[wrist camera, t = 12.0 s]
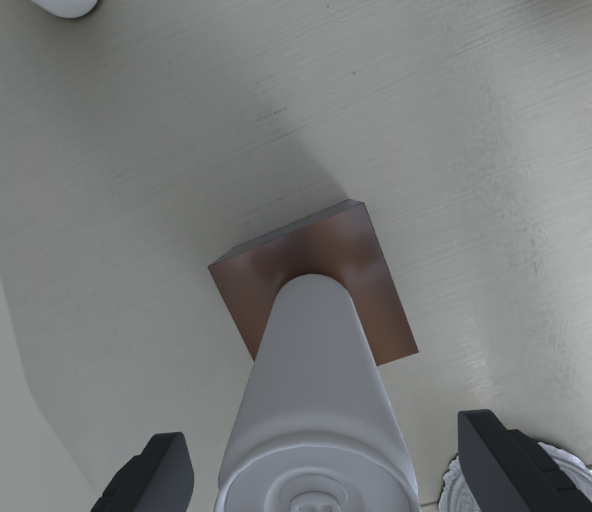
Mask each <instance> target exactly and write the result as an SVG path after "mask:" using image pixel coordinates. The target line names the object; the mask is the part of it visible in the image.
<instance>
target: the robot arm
mask: <svg viewBox="0 0 592 512" xmlns="http://www.w3.org/2000/svg"><path fill="white" fill-rule="evenodd" d="M458 457H459V463H460V467H461V470H462V473H463V476H464V479H465V481H466V483H467V485H468V487H469V489H470V491H471V493H472V495H473V497H474V498H475V500H476V502H477V504H478V506H479V508H480V510H481V512H592V502H591V501H590V500H589V499H588V498H587V496H586V495H585V494H584V493H583V492H582V491H581V490H578V489H577V487H576V484H575V483H574V482H573V481H572V480H571V479H570V477H569V476H568V475H567V474H566V473H565V472H564V471H561V469H560V466H559V465H558V464H557V463H556V462H555V461H554V460H553V459H552V457H551V456H550V455H549V454H548V453H547V452H546V451H545V450H544V449H543V447H542V446H541V445H539V444H538V443H536V442H535V441H534V440H532V439H531V438H529V437H528V436H526V435H525V434H523V433H522V432H521V431H519V430H518V429H514V430H507V429H506V428H505V427H504V425H503V424H502V423H501V422H500V421H499V419H498V418H497V417H496V416H495V414H494V413H493V412H492V411H491V410H489V409H482V410H469V411H459V413H458ZM193 487H194V472H193V468H192V464H191V460H190V456H189V452H188V448H187V445H186V441H185V437H184V435H183V433H182V432H173V433H160V434H155V435H153V436H152V438H151V439H150V440H149V442H148V444H147V445H146V447H145V448H144V450H143V451H142V453H141V454H140V455H138V456H134V457H133V458H132V459H131V460H130V461H129V462H127V463H126V464H125V465H124V466H123V467H122V468H121V469H120V470H119V471H118V472H117V473H116V474H115V476H114V477H113V479H112V480H111V482H110V483H109V485H108V486H107V487H106V489H105V490H104V492H103V495H102V497H100V498H99V499H98V501H97V502H96V504H95V505H94V506H93V508H92V509H91V512H186V510H187V507H188V505H189V502H190V500H191V496H192V493H193Z"/></svg>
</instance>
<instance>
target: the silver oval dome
mask: <svg viewBox="0 0 592 512" xmlns="http://www.w3.org/2000/svg"><path fill="white" fill-rule="evenodd" d="M538 444H539V445H541V446H542V447H543V449H544V450H545V451H546V452H547V453H548V454H549V455H550V456H551V457H552V459H553V460H554V461H555V462H556V463H557V464H558V465H559V466H560V469H561V471H564V472H565V473H566V474H567V475H568V476H569V477H570V479H571V480H572V481H573V482H574V483H575V484H576V487H577V489H578V490H581V491H582V492H583V493H584V494H585V495H586V496H587V498H588V499H589V500H590V501H591V502H592V471H591V470H590V469H587V468H586V467H585V464H584V463H583V462H582V461H580V459H579V458H578V457H576V456H574V455H572V454H570V453H568V452H566V451H564V450H563V449H558V448H555V447H554V446H551V445H546V444H544V443H543V442H539V443H538ZM456 458H457V459H456V460H452V462H451V464H450V465H449V470H450V471H449V472H447V473H446V474H445V475H444V476H443V479H444V481H445V485H446V486H445V487H444V488H443V489H444V491H443V492H442V495H441V497H440V501H439V504H438V506H439V512H481V510H480V508H479V506H478V504H477V502H476V500H475V498H474V497H473V495H472V493H471V491H470V489H469V487H468V485H467V483H466V481H465V479H464V476H463V473H462V470H461V467H460V463H459V457H458V456H457V457H456ZM451 469H452V470H451Z"/></svg>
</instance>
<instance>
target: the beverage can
mask: <svg viewBox="0 0 592 512" xmlns="http://www.w3.org/2000/svg"><path fill="white" fill-rule="evenodd" d="M218 488H219V492H218V495H217V499H216V503H215V506H214V511H213V512H421V508H420V503H419V500H418V497H417V496H418V487H417V483H416V478H415V473H414V469H413V465H412V462H411V459H410V456H409V453H408V451H407V448H406V445H405V442H404V440H403V437H402V434H401V432H400V429H399V426H398V423H397V421H396V418H395V415H394V413H393V410H392V407H391V404H390V402H389V399H388V396H387V393H386V391H385V388H384V385H383V383H382V380H381V377H380V374H379V372H378V369H377V366H376V364H375V361H374V358H373V355H372V353H371V350H370V347H369V344H368V342H367V339H366V336H365V334H364V331H363V328H362V325H361V323H360V320H359V317H358V314H357V312H356V309H355V306H354V304H353V301H352V299H351V297H350V295H349V293H348V291H347V290H346V289H345V288H344V287H343V286H342V285H341V284H340V283H339V282H337V281H336V280H334V279H332V278H331V277H327V276H324V275H320V274H307V275H303V276H298V277H296V278H295V279H293V280H291V281H289V282H288V283H287V284H286V285H284V286H283V287H282V288H281V290H280V291H279V293H278V295H277V296H276V298H275V301H274V304H273V307H272V310H271V313H270V316H269V319H268V322H267V326H266V329H265V332H264V335H263V338H262V341H261V344H260V347H259V350H258V353H257V356H256V359H255V362H254V365H253V368H252V371H251V374H250V377H249V380H248V383H247V386H246V389H245V392H244V395H243V398H242V401H241V404H240V407H239V411H238V414H237V417H236V420H235V423H234V426H233V429H232V432H231V435H230V438H229V441H228V444H227V447H226V450H225V453H224V457H223V461H222V464H221V468H220V472H219V476H218Z"/></svg>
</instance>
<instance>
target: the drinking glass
mask: <svg viewBox="0 0 592 512" xmlns="http://www.w3.org/2000/svg"><path fill="white" fill-rule="evenodd" d="M31 1H32V2H34V3H35V4H37V5H38V6H40V7H41V8H43V9H44V10H46V11H48V12H50V13H52V14H54V15H56V16H59V17H63V18H77V17H80V16H83V15H85V14H86V13H88V12H89V11H90V10H91V9H92V8H93V7H94V6H95V4H96V3H97V1H98V0H31Z"/></svg>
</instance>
